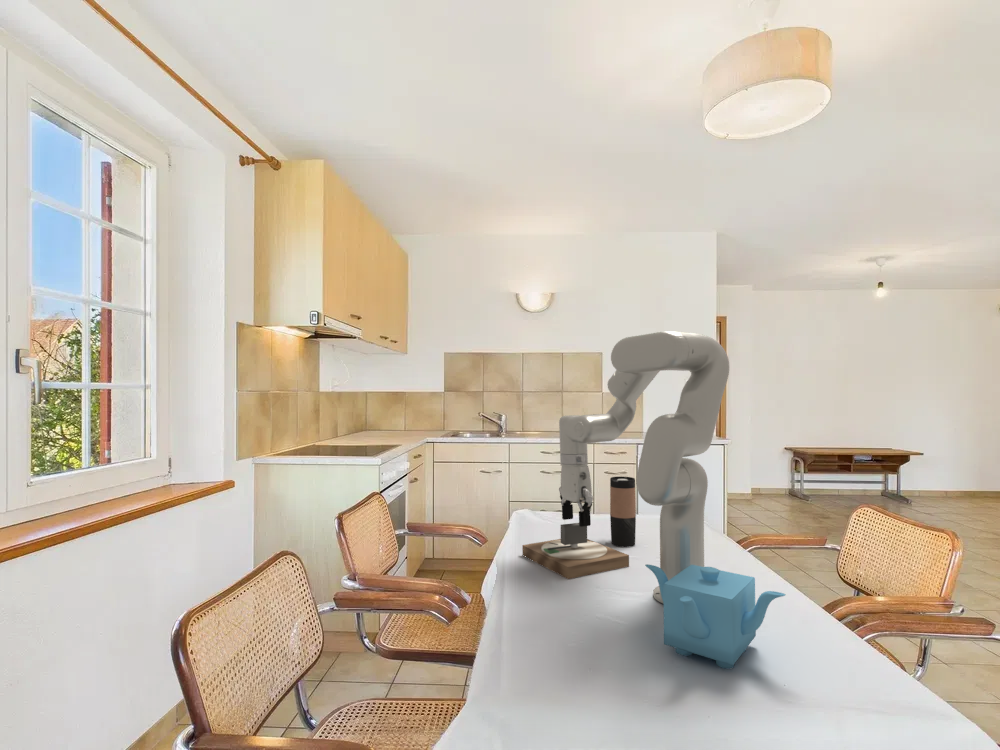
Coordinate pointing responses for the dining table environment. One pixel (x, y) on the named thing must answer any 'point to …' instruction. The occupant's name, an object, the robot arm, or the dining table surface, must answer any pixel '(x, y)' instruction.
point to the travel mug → (622, 511)
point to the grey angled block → (572, 535)
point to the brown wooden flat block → (575, 558)
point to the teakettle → (711, 612)
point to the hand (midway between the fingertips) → (576, 522)
